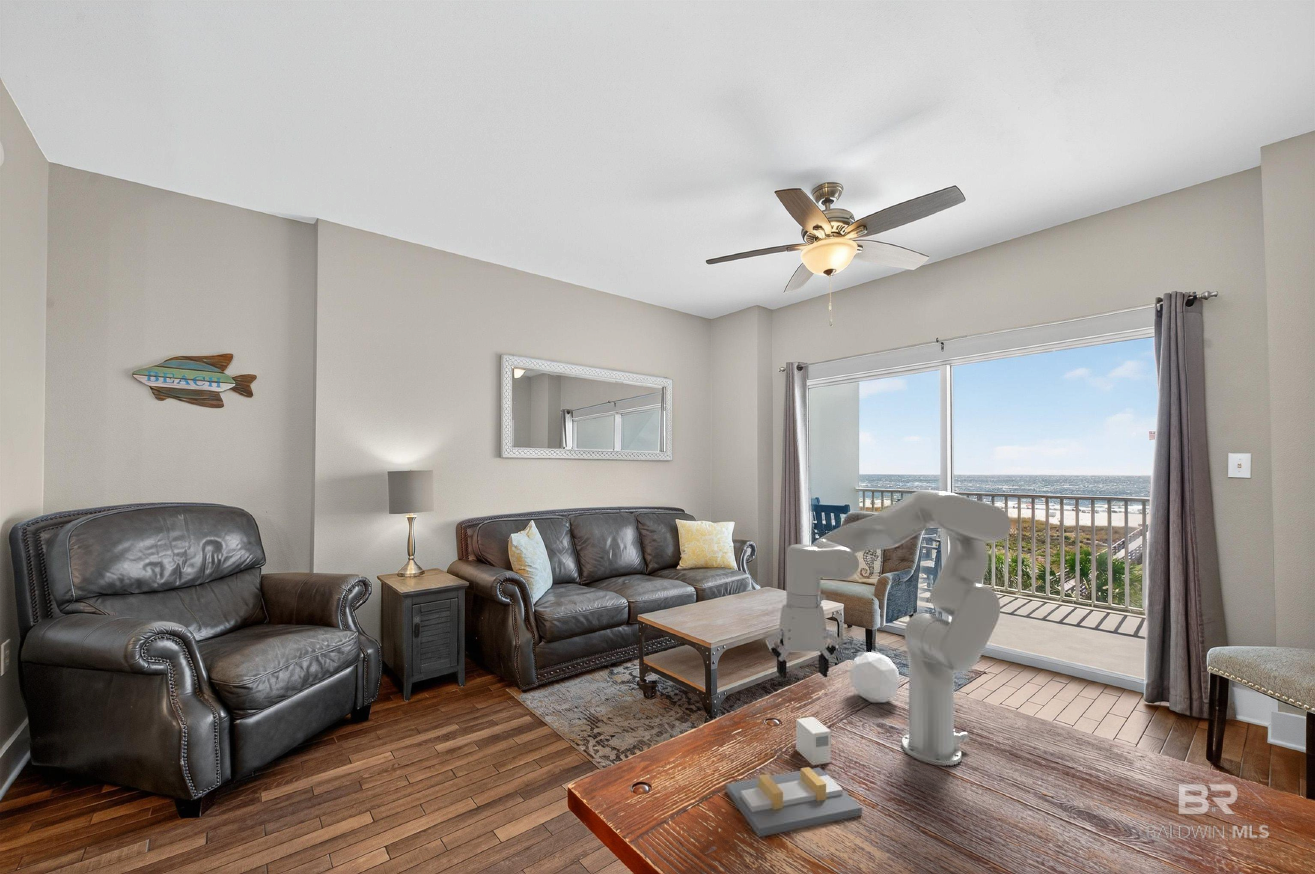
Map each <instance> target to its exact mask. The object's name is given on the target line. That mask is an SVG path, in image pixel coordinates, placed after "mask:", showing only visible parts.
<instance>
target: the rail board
mask: <svg viewBox="0 0 1315 874" xmlns="http://www.w3.org/2000/svg"><path fill="white" fill-rule="evenodd" d="M725 785H726V786H725V789H726V790H725V791H726V793H727V795H728V796H729V798H730V799H731V800H732V801H733V802H734V805H736V807H737V809H738V810H739V811H740V813H741V814H742V815H743V817H744V819H745V820H746V821H747V822H748V825H750V827H751V828H752V830H753V831H754V832H755V834H756V836H757V837H758V838H761V837H765V836H766V837H767V836H770V835H775V834H779V833H785V832H790V831H795V830H798V829H804V828H807V827H808V828H809V827H813V826H817V825H822V824H823V825H824V824H827V823H832V822H838V821H843V820H846V819H851V818H856V817H860V816H863V810H862V809H863V807H862V806H861V805H860V804H858V802H857V801H856V800H855V799H853V797H851V796H850V795H849V794H848V793H847V792H846V791H845V790H844V789H843V788H842V787H841V786H840V785H839V784H838V783H837V782H836V781H835V780H834V779H832V777H831V776H829V775H828V774H827V773H826V772H825V771H824V770H823V769H822V768H821V767H815V768H813V767H812V768H811V767H809V766H808V767H801V768H800V770H798V771H791V772H785V773H780V774H775V775H769V774H768V773H767V774H760V775H758V777H756V778H750V779H746V780H745V779H744V780H741V781H740V780H738V781H734V782H728V783H726V784H725Z"/></svg>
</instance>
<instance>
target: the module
mask: <svg viewBox="0 0 1315 874" xmlns="http://www.w3.org/2000/svg"><path fill="white" fill-rule="evenodd" d="M831 735H832V731H831V729H829V728H828V727H827V726H825V724H823V723H822V722H820V721H819V720H818V719H817V718H815V717H814V716H809V717H801V718H796V721H795V750H796V751H797V752H798V753H800V755H802V756H803V757H804V759H805V760H806V761H808V762H809V763H810V764H811V765H812V766H819V765H823V764H829V763H831V761H832V760H831V757H832V752H831V751H832V748H831V747H832V743H831V742H832V741H831V740H832V736H831Z"/></svg>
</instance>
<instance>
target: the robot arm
mask: <svg viewBox="0 0 1315 874" xmlns="http://www.w3.org/2000/svg"><path fill="white" fill-rule="evenodd" d="M930 528H937V529H940V530H941V529H942V530H945V532H946V534H947V536H948V541H949V552H948V555H947V558H946V560H945V562H944V564H943V566H942V568H941V570H940V572H939V574H938V576H937V578H936V579H935V582H934V584H933V585H932V587H931V591H930V593H929V599H930V603H931V604H932V606H933V607H934V608H935V609H936V610H937V611H939V612H941V613H943V614H945V615H947V616H949V617H951V621H948V620H946V619H943V618H942V617H940V616H936V615H934V614H931V613H916V614H914V615H912V616H911V617H910V618H909V620H908V621H907V622H906V623H905V624H906V625H905V629H904V640H905V645H906V651H907V657H908V733H907V734H906V735H904V736H903V737H902V738H901V747H902V749H903V750H904V751H905V753H907V754H908V755H909V756H911V757H912V758H914V759H915V760H919V761H921V762H924V763H927V764H929V765H934V766H941V765H942V767H943V766H944V767H945V766H946V765H947V766H946V767H949V766H948V765H950V766H955V765H958V764H959V763H960V762H961V761H962V757H963V755H962V751H961V750H960V749H959V747H958V745H959V744H960V743H964V742H968V741H970V735H969V734H968V732H967V731H962V732H958V733H957V732H956V730H955V721H954V719H955V709H954V708H955V702H954V701H955V696H954V693H955V678H954V672H956V673H957V672H958V673H962V672H963V673H964V672H967V671H970V670H971V669H972V668H973V667H974V666H975V665H976V664H977V663H978V661H979V659H980V658H981V656H982V654H983V652H984V650H985V649H986V646H987V644H988V642H989V640H990V638H991V636H992V634H993V632H994V629H995V628H996V627H997V624H998V621H999V619H1000V614H1001V602H1000V599H999V597H998V594H996V592H995V591H994V590H993V589H992V588H991V587H989V586H987V585H986V584H983V583H982V582H983V579H984V578H985V575H986V573H987V570H988V567H989V560H990V559H989V558H990V557H989V553H988V549H987V545H986V543H999V542H1001V541H1003V540H1004V539H1005V538H1007V537H1008V536H1009V534H1010V532H1011V530H1012V529H1011V528H1012V522H1011V518H1010V516H1009V515H1008V513H1007V512H1006V511H1005V510H1004V509H1002V508H1001V507H1000V506H997V505H994V504H990V503H987V502H983V501H980V500H976V499H973V498H969V497H967V496H964V495H960V494H958V493H957V494H956V493H952V492H949V491H943V490H942V491H941V490H939V491H938V490H930V489H922V490H917V491H915V492H913V493H911V494H909V495H907V496H905V497H904V498H902V499H900V500H898V501H897V502H895V503H893V504H891V505H890V506H888V507H886V508H884V509H882V510H881V511H879V512H878V513H876V514H874V515H871V516H868V517H866V518H862V519H860V520H856V521H854V522H851V523H848V524H845V525H843V526H840V527H837V528H836V529H834V530H832V531H830V532H828V533H827V534H824V535H823V536H821V537H819V538H818V539H817V540H815V541H814V542H813V543H812V544H804V543H803V544H802V543H797V544H791V545H789V546H788V547H787V550H786V595H785V596H786V599H785V600H786V603H783V604H782V607H781V611H780V616H779V623H778V624H779V626H778V631H777V632H775V633H774V634H771V635H770V636H769V637H766V638H765V643H766V645H767V647H768V649H769V651H770V652H772V654H773V655H774V656H775V657H776V671H777V674H778V675H779V676H780V677H781V678H782V679H783V680H786V679H787V667H788V666H787V663H788V662H787V660H786V657H787V656H788V655H789V654H790V653H813V652H819V654H818V673H819V674H820V675H821V676H822V677H824V678H828V672H829V670H830V668H829V667H830V666H829V665H830V661H829V660H831V658H832V655H834V654H835V652H836V651H837V648H838V645H839V644H840V641H841V639H840V637H838V636H837V635H835V634H833V633H832V632H829V631H828V630H827V622H826V616H825V611H824V606H823V605H822V601H826V600H827V596H826V594H823V593H821V586H822V585H821V582H822V581H821V579H822V578H823V579H831V580H838V581H844V580H848V579H851V578H852V577H854V576H855V575H856V574H857V573H858V571H859V568H860V562H859V558H858V556H857V555H856V554H857V553H861V552H866V551H873V550H874V551H877V550H888V549H893V548H896V547H898V546H900V545H901V544H903V543H906V542H907V541H909V540H910V539H911V538H914V537H915V536H917V535H919V534H920V533H922V532H924V531H925V530H927V529H930ZM827 639H828V640H830V643H829V644H827V642H828V641H827ZM777 642H778V644H779V645H780V646H778V648H776V646H775V643H777ZM958 762H959V763H958ZM954 764H955V765H954Z"/></svg>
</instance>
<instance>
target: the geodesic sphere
mask: <svg viewBox="0 0 1315 874" xmlns="http://www.w3.org/2000/svg"><path fill="white" fill-rule="evenodd" d="M856 655H857V656H856V657H854V659H853V661H852V664H851V667H850V669H849V673H850V675H849V676H850V683H851V686H852V687H853V688H854V690H855V691H856V692H857V694H858V695H859V696H861V697H862V698H864V699H865V700H867V701H868V702H870V703H886V702H889V700H891V699H893V698H894V697H896V696H897V693H898V690H899V687H900V684H901V682H900V681H901V680H900V675H899V673H900V672H899V669H898V668H897V666H896V665H895V663H893V661H892V659H891V658H890V657H888V656H886V655H884V654H883V653H880V652H878V651H876V650H873V649H871V652H870V651H869V652H868V651H865V652H864V651H858V652H856Z"/></svg>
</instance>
